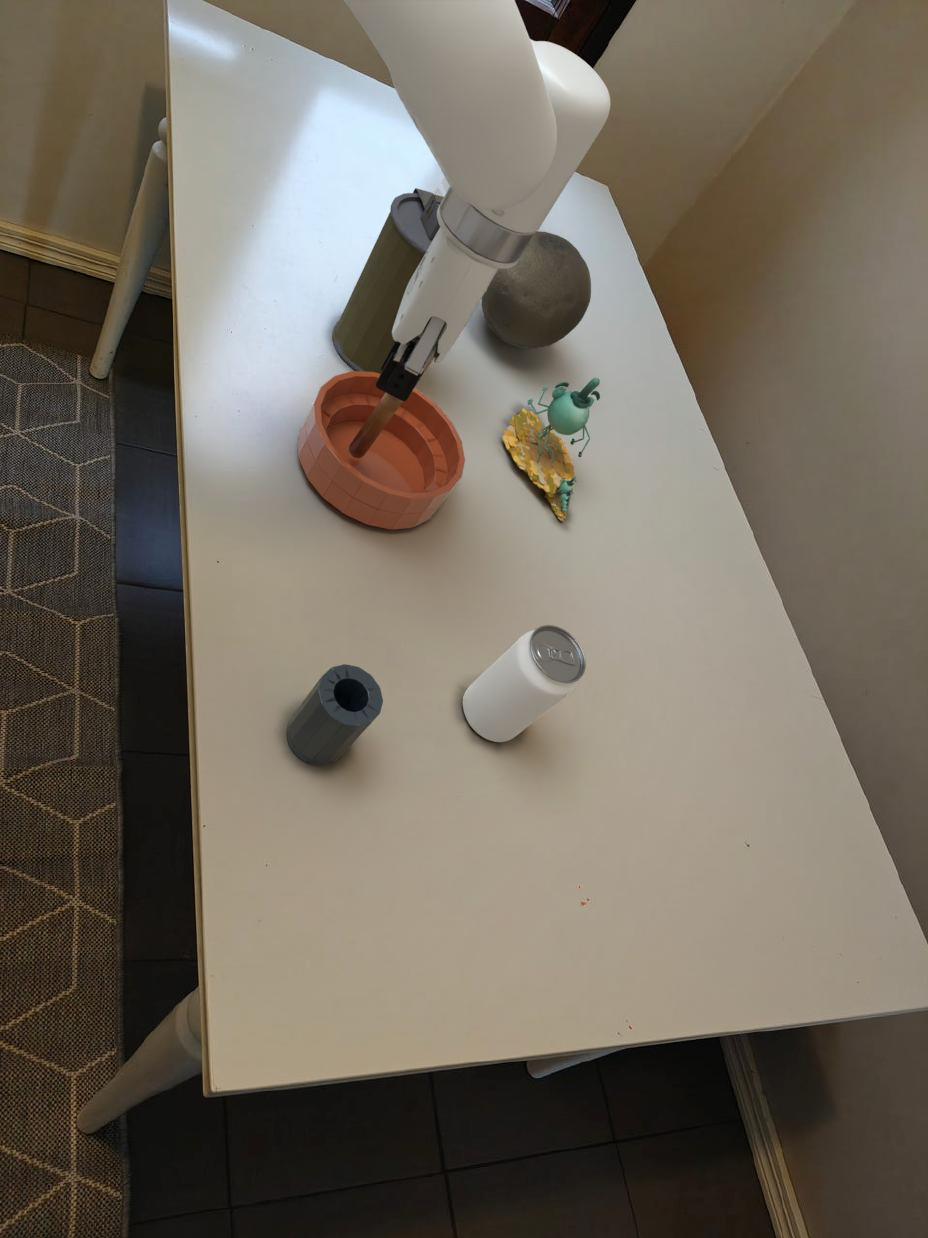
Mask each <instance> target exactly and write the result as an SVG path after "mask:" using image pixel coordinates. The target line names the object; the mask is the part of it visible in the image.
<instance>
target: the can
mask: <svg viewBox="0 0 928 1238" xmlns="http://www.w3.org/2000/svg"><path fill="white" fill-rule="evenodd" d="M585 655H586V654H585V653H584V650H583V648H582V646H581V644H580V643H579V641H578V640H577V638H576V637H574V635H572V634H571V633H570V632H569V631H568V630H567V629H564V628H562V627H560V626H557V625H553V624H544V625H540V626H539V627H537V628H536V629H532V630H529V631H527V632H525V633H524V634H523V635H522V636H521V637H519V638H518V639H517V640H516V641H515V642H514V643H512V644H511V646H509V647H508V648H507V649H506V650H505V651H504V652H503V653H502V654H501V655H500V656H499V657H498V658H497V659H496V660H495V661H493V663H492V664H490V666H488V667H487V668H486V669H485V670H484V671H483V672H482V673H481V674H480V675H479V676H478V677H477V678H476V679H475V680H473V682H472V683H471V684H470V685H469V686H468V687H467V688H466V690H465V691H464V694H463V697H462V709H463V713H464V717H465V718H466V721H467V723H468V725H469V726H470V727H471V729H472V730H473V731H474V732H475V733H476V734H477V735H479V736H481V737H482V738H484V739H486V740H488V741H491V742H494V743H506V742H508V741H511V740H513V739H514V738H515V737H517V736H518V735H520V733H522V732H523V731H525V730H526V729H527V728H528V727H530V726H531V725H532V724H533V723H535V722H536V721H537V720H538V719H540V718H541V717H542V716H544V715H545V714H546V713H547V712H548V711H550V710H551V709H553V707H556V705H557V704H559V703H560V702H561V701H563V700H564V699H566V697H567V696H568V695H570V694H571V693H572V692H573V691H574V690H575V689H576V688H577V686H578V684H579V682H580V679H582V677H583V676H584V674H585V672H586V667H587V660H586V656H585Z"/></svg>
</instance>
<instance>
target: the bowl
mask: <svg viewBox="0 0 928 1238" xmlns="http://www.w3.org/2000/svg"><path fill="white" fill-rule="evenodd" d="M379 376H380V374H379V373H376V372H364V371H356V370H351V371H348V372H344V373H340V374H336V375H333V376H332V378H330V379H328V380H327V381H326V382H325V383H324V384H323V385H322V386H321V387H319V390H318V391H317V394H316V395H315V397H314V400H313V402H312V404H311V406H310V408H309V410H308V412H307V414H306V416H305V419H304V421H303V422H302V425H301V427H300V430H299V433H298V435H297V456H298V457H297V458H298V459H299V462H300V465H301V467H302V470H303V471H304V474H305V476H306V479H307V480H308V481H309V482H310V484H311V485H312V486H313V487H314V489H315V490H316V491H317V492H318V494H319V495H320V496H321V497H322V498H323V499H324V500H325V501H327V502H328V503H329V504H331V505H332V506H333V507H334V508H335V509H337V510H338V511H339V512H341V513H342V514H343V515H345V516H348V517H349V518H352V519H354V520H356V521H358V522H361V523H363V524H365V525H368V526H372V527H378V528H383V529H386V530H403V529H412V528H415V527H417V526H420V525H421V524H423V523H425V522H428V521H430V520H431V519H432V517H433V516H434V515H435V513H437V511H438V509H440V507H441V506H442V504H443V503H444V501H446V499H447V498H448V496H449V495H450V494H451V492H452V491H453V489H454V488H455V487H456V485H457V484H458V482H459V481H460V480H461V479H462V477H463V473H464V472H463V471H464V467H465V463H466V458H465V452H464V447H463V442H462V439H461V437H460V435H459V433H458V430H457V429H456V427H455V425H454V423H453V422H452V420H451V419H450V417H448V416H447V414H446V413H445V412H444V411H443V409H442V408H440V406H439V405H438V404H437V403H436V402H434V401H433V400H432V399H431V398H429V397H428V396H427V395H425V393H423V392H422V391H421V390H419V389H418V388H416V387H414V389H413V391H412V392H411V394H410V396H409V397H408V399H407V400H406V401H403V402H402V404H401V405H400V406H399V408H398V409H397V411H396V412H395V413H394V415H393V416H392V418H391V419H390V420H389V422H388V423H387V425H386V426H385V427H384V429H383V430H382V431H381V433H380V434H379V436H378V437H377V438H376V440H375V441H374V443H373V444H372V445H371V447H370V448H369V450H368V451H367V452H366V454H365V455H364V456H363V457H361V458H354V457H352V456H351V454H350V453H349V446H350V444H351V442H352V441H353V439H354V438H355V436H356V435H357V434H358V432H359V431H360V429H361V428H362V426H363V425H364V423H365V422H366V421H367V419H368V418H369V416H370V415H371V413H372V412H373V410H374V409H375V408H376V406H377V405H378V403H379V402H380V400H381V399H382V397H383V396H384V394H385V393H386V392H384V391H382V390H380V389H378V388H377V387H376V382H377V380H378V378H379Z"/></svg>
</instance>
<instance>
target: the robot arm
mask: <svg viewBox="0 0 928 1238" xmlns="http://www.w3.org/2000/svg"><path fill="white" fill-rule="evenodd" d="M343 2H344V3H345V5H346V6H347V7H348V9H349V11H351V13H352V15H353V16H354V17H355V19H356V20H357V22H358V23H359V25H360V26H361V28H362V30H363V31H364V32H365V34H366V35H367V37H368V39H369V40H370V42H371V43H372V45H373V46H374V48H375V49H376V51H377V53H378V54H379V56H380V57H381V60H382V61H383V62H384V64H385V66H386V67H387V69H388V71H389V75H390V78H391V82H392V85H393V87H394V89H395V91H396V94H397V96H398V98H399V100H400V101H401V103H402V105H403V107H404V108H405V110H406V112H407V114H408V116H409V118H410V120H411V121H412V122H413V124H414V126H415V127H416V129H417V131H418V132H419V134H420V135H421V137H422V138H423V140H424V142H425V144H426V146H427V148H428V149H429V151H430V152H431V154H432V156H433V158H434V159H435V161H436V163H437V165H438V166H439V169H440V170H441V172H442V174H443V176H444V178H446V180H447V181H448V183H449V185H450V186H449V188H448V190H447V192H446V194H445V196H444V198H443V200H442V202H441V204H440V206H439V208H438V210H437V219H438V223H439V225H440V228H439V230H438V232H437V234H436V235H435V237H434V239H433V241H432V242H431V244H430V246H429V248H428V250H427V251H426V253H425V255H424V257H423V259H422V260H421V262H420V264H419V265H418V267H417V269H416V271H415V272H414V274H413V276H412V277H411V279H410V281H409V283H408V285H407V287H406V290H405V293H404V295H403V298H402V301H401V304H400V307H399V310H398V313H397V316H396V319H395V322H394V326H393V329H392V336H393V339H394V340H395V342H394V344H393V346H392V348H391V350H390V351H389V353H388V355H387V357H386V359H385V361H384V362H383V364H382V367H381V370H382V373H381V374H380V376H379V378H378V380H377V382H376V387H377V388H378V389H380V390H382V391H384V392H386V393H388V394H390V395H392V396H394V397H396V398H397V399H399V400H401V401H406V400H407V399H408V397H409V396H410V394H411V392H412V391H413V389H414V388H416V386H417V384H418V383H419V380H421V377H422V376H423V375H424V373H425V372H424V369H425V367H426V365H427V364H428V362H429V360H430V359H431V357H432V355H433V354H434V356H433V358H434V359H433V362H434V363H438V362H441V361H443V360H444V359H445V358H446V357H447V355H448V354H449V352H450V351H451V349H452V348H453V346H454V345H455V343H456V342H457V341H458V338H459V337H460V336H461V334H462V332H463V330H464V329H465V327H466V325H467V324H468V322H469V321H470V319H471V317H472V315H473V314H474V312H475V310H476V309H477V307H478V305H479V304H480V303H481V301H482V297H483V295H484V293H485V292H486V291H487V288H488V286H489V284H490V283H491V281H492V279H493V278H494V276H495V274H496V272H497V270H498V269H499V268H501V269H507V268H511V267H513V266H515V265H516V264H517V263H518V261H519V260H520V258H521V256H522V255H523V253H524V252H525V250H526V248H527V247H528V245H529V244H530V242H531V240H532V239H533V237H534V236H535V234H536V233H537V231H539V229H540V228H541V227H542V224H543V223H544V221H545V220H546V218H547V217H548V215H549V214H550V213H551V211H552V209H553V207H554V205H555V204H556V202H557V201H558V199H559V198H560V196H561V195H562V193H563V191H564V190H565V188H566V187H567V185H568V183H569V182H570V179H571V178H572V177H573V176H574V174H575V172H576V170H577V169H578V168H579V166H580V164H581V163H582V162H583V159H584V158H585V157H586V155H587V153H588V152H589V151H590V149H591V147H592V145H593V144H594V142H595V141H596V139H597V137H598V136H599V134H600V133H601V131H602V129H603V128H604V126H605V124H606V122H607V120H608V119H609V118H608V117H609V114H610V111H611V96H610V92H609V89H608V87H607V86H606V85H607V84H605V82H604V81H603V78H601V76H600V75H599V74H598V73H597V72H596V71H595V70H594V69H593V68H592V66H591V65H589V64H588V63H587V62H586V61H585V60H584V59H582V58H581V57H580V56H578V55H577V54H575V53H574V52H572V51H571V50H569V49H568V48H566V47H563V46H561V45H559V44H556V43H554V42H550V41H545V40H537V41H536V40H533V39H531V38H530V35H529V33H528V31H527V29H526V25H525V23H524V20H523V18H522V16H521V15H522V14H521V13H520V10H519V8H518V5H517V3H516V0H343ZM423 372H424V373H423ZM422 374H423V375H422Z"/></svg>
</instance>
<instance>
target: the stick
mask: <svg viewBox="0 0 928 1238" xmlns="http://www.w3.org/2000/svg"><path fill="white" fill-rule="evenodd" d="M433 356H434V354H433V355H432V357H431V359H430V360H429V362H428V364H427V365H426V367H425V369H424V372H423V374H422V376H423V375H424V373H425V372H426V370H428V368H429V367H430V365H431V364H432V362H434V358H433ZM402 402H403V401H401V400H399V399H397V398H396V397H394V396H392V395H390V394H388V393H385V394H384V396H383V397H382V399H381V400H380V402H379V403H378V405H377V406H376V408H375V409H374V410H373V412H372V413H371V415H370V416H369V418H368V419H367V421H366V422H365V423H364V425H363V426H362V428H361V429H360V431H359V432H358V434H357V435H356V436H355V438H354V439H353V441H352V442H351V444H350V446H349V453H350V454H351V456H352V457H354V458H361V457H363V456H364V455H365V454H366V452H367V451H368V450H369V448H370V447H371V445H372V444H373V443H374V441H375V440H376V438H377V437H378V436H379V434H380V433H381V431H382V430H383V429H384V427H385V426H386V425H387V423H388V422H389V420H390V419H391V418H392V416H393V415H394V413H395V412H396V411H397V409H398V408H399V406H400V405H401V404H402Z"/></svg>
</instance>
